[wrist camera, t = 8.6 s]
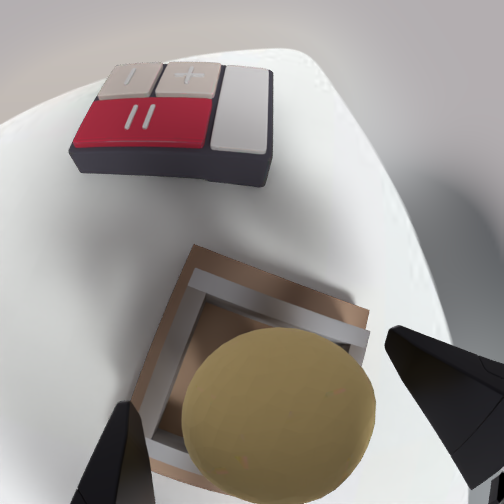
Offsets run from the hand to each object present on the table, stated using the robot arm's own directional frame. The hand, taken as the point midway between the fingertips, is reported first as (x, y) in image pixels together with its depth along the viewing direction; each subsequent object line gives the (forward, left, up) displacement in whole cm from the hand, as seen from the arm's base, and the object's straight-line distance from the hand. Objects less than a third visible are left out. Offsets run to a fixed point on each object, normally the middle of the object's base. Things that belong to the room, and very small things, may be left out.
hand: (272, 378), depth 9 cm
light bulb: (-1, +1, -8) cm, 8 cm away
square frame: (-1, +1, -9) cm, 9 cm away
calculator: (+11, -16, -10) cm, 22 cm away
